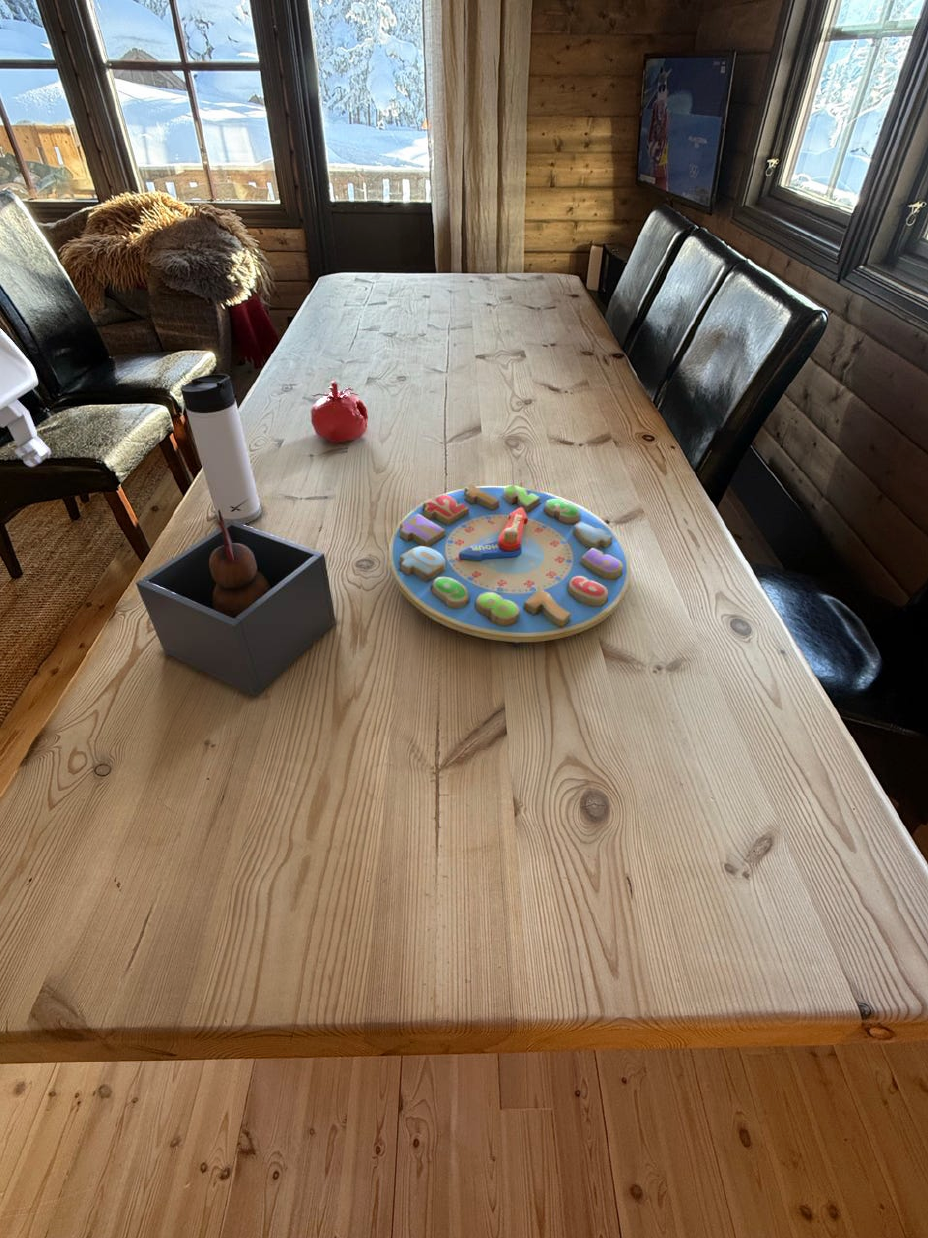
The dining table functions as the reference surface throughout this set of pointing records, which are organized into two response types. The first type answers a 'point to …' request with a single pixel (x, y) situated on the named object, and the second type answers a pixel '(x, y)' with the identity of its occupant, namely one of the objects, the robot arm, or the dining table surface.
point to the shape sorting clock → (509, 563)
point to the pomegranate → (339, 416)
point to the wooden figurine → (235, 577)
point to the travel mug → (222, 447)
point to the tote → (261, 632)
